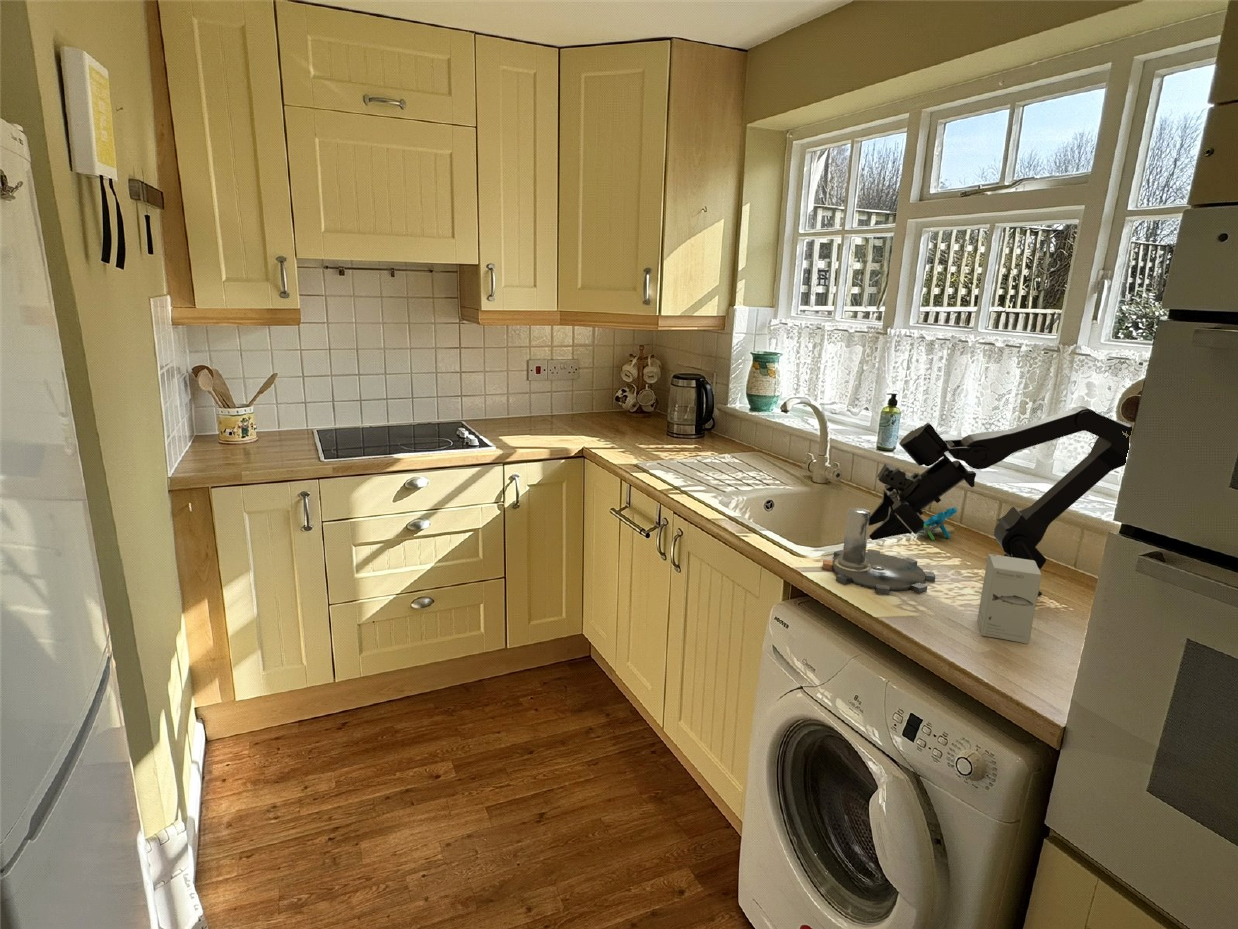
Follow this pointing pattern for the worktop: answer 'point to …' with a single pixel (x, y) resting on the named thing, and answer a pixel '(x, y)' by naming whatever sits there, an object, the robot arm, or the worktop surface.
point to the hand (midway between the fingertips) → (868, 530)
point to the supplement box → (1009, 598)
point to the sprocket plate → (883, 573)
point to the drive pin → (855, 539)
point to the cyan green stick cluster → (938, 522)
